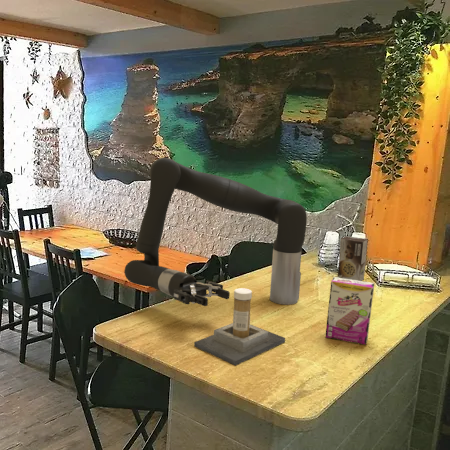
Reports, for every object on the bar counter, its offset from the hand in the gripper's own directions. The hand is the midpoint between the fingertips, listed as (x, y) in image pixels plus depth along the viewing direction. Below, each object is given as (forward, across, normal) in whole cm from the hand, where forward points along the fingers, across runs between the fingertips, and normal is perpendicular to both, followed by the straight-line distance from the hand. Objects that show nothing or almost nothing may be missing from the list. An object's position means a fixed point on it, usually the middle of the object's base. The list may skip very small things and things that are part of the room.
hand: (218, 298), depth 132 cm
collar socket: (+9, 0, +10) cm, 13 cm away
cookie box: (-2, +79, +10) cm, 79 cm away
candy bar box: (+26, +25, +10) cm, 37 cm away
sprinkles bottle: (+9, 0, +9) cm, 12 cm away
